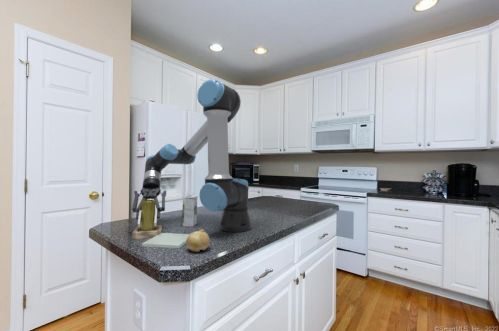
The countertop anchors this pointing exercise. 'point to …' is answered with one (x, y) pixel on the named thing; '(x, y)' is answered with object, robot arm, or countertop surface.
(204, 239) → the onion
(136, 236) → the collar
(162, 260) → the countertop surface
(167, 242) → the tile
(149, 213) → the vase
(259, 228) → the countertop surface
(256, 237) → the countertop surface
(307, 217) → the countertop surface
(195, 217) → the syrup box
